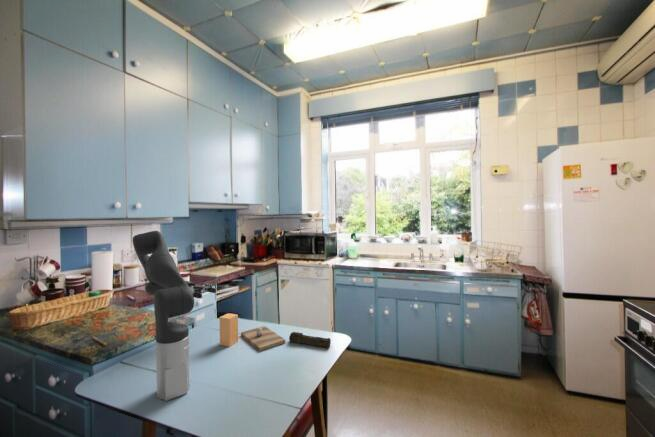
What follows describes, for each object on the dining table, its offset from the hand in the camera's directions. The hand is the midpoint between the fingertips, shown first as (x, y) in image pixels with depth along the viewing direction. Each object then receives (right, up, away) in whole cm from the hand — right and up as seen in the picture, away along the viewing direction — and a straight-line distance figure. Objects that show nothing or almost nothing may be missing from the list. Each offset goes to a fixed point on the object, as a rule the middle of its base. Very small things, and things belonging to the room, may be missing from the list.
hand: (208, 293), depth 128 cm
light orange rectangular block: (+11, -21, -4) cm, 24 cm away
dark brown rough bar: (+46, -21, -6) cm, 51 cm away
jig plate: (+25, -21, 0) cm, 32 cm away
